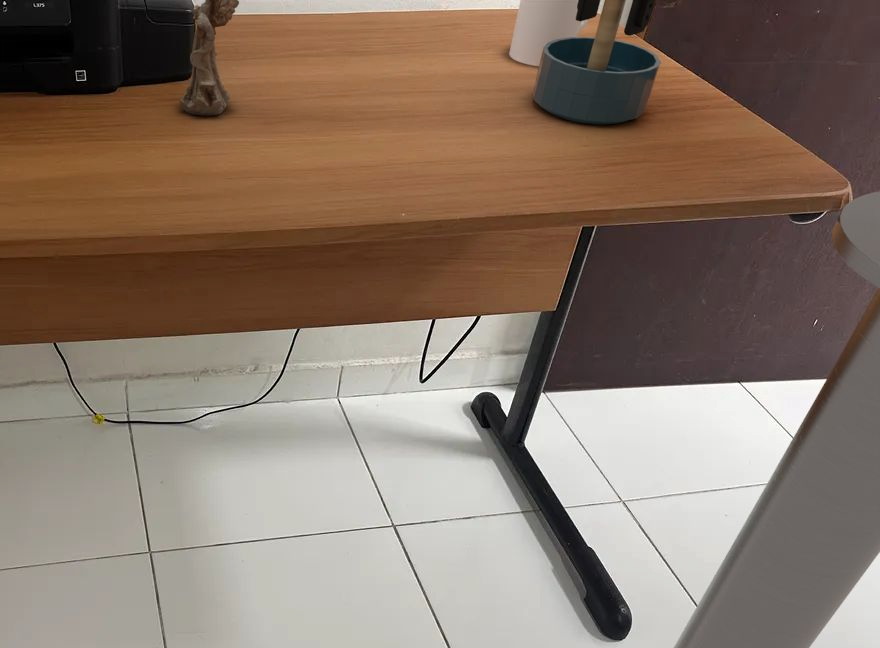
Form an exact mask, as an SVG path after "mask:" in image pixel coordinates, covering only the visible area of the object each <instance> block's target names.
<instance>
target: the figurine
mask: <svg viewBox="0 0 880 648" xmlns="http://www.w3.org/2000/svg"><path fill="white" fill-rule="evenodd" d="M239 5H240V0H205V1H204V2H203V3H201V5H199V4H196V5H194V7H193V12H192V13H193V17H192V19H193V20H194V22H195V24H196V29H195V31H194V37H193V43H192V51H191V53H190V56H189V61H190V64H191V66H192V71H191V76H190V81H189V84H188V87H187V88H186V90H185V93H184V94H183V95H182V97H181V98H180V100H179V101H180V102H179V103H180V105H182V107H183V108H184V112H186V113H187V114H190V115H195V116H205V117H206V116H217V115H220V114H222V113H223V112H225V110H226V108H227V106H228V104H229V101H230V99H231V93H229V91H228V90H226V88H225V86H224V85H223V82H222V80H221V78H220V77H221V76H220V73H219V69H218V65H217V56H218V52H216V46H215V40H216V35H217V32H216V28H220V27H225V26H226V25H227V24H228V23H229V21H231V20H232V18H233V15H234V14H235V13H236V8H237V7H238V6H239Z"/></svg>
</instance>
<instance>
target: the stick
mask: <svg viewBox="0 0 880 648" xmlns="http://www.w3.org/2000/svg"><path fill="white" fill-rule="evenodd" d="M626 1H627V0H604V1H603V6H602V9H601V13H600V16H599V20H598V24H597V28H596V31H595V36H594V37H595V39H594V42H593V46H592V50H591V54H590V57H589V61H588V65H587V68H586V69H592V70H598V71H606V69H607V65H608V62H609V58H610V55H611V51H612V48H613V44H614V41H615V40H616V38H617V33H618V30H619V26H620V23H621V20H622V15H623V13H624V8H625V5H626Z"/></svg>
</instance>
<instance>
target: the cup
mask: <svg viewBox="0 0 880 648" xmlns="http://www.w3.org/2000/svg"><path fill="white" fill-rule="evenodd" d="M577 4H578V0H520V1H519V4H518V5H519V6H518V10H517V16H516V18H515V19H516V20H515V24H514V29H513V34H512V39H511V44H510V48H509V52H508V53H509V55H508V56H509V57H510V58H511V59H512V60H514V61H516V62H518V63H521V64H525V65H527V66H534V67H539V64H540V60H541V56H542V51H543V48H544V46H545V45H546V44H547V43H548V42H551V41H553V40H556V39H562V38H568V37H578V36H579V32H583V30H584V29H585V28H586V26H587V25H588V24H589V21H590V19H587V20H584V21H577V20H576V15H577V11H578V9H577Z"/></svg>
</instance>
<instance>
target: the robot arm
mask: <svg viewBox="0 0 880 648" xmlns="http://www.w3.org/2000/svg"><path fill="white" fill-rule="evenodd" d="M656 2H657V0H632V2H631V5H630V9H629V12H628V15H627V19H626V23H625V27H624V31H623V33H624V35H625V36H628V37H632V36H634V35H637V34H640V33H643V32H645V30H646V28H647V26H649V23H650V21H651V18H652V15H653V12H654V8H655V5H656ZM600 3H601V0H578V4H577V9H578V11H577V15H576V20H577V21H581V22H582V21H584V20H587V19H589V20H591V19H594V18H596V17H597V15H598V13H599V12H598V11H599V7H600Z"/></svg>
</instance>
